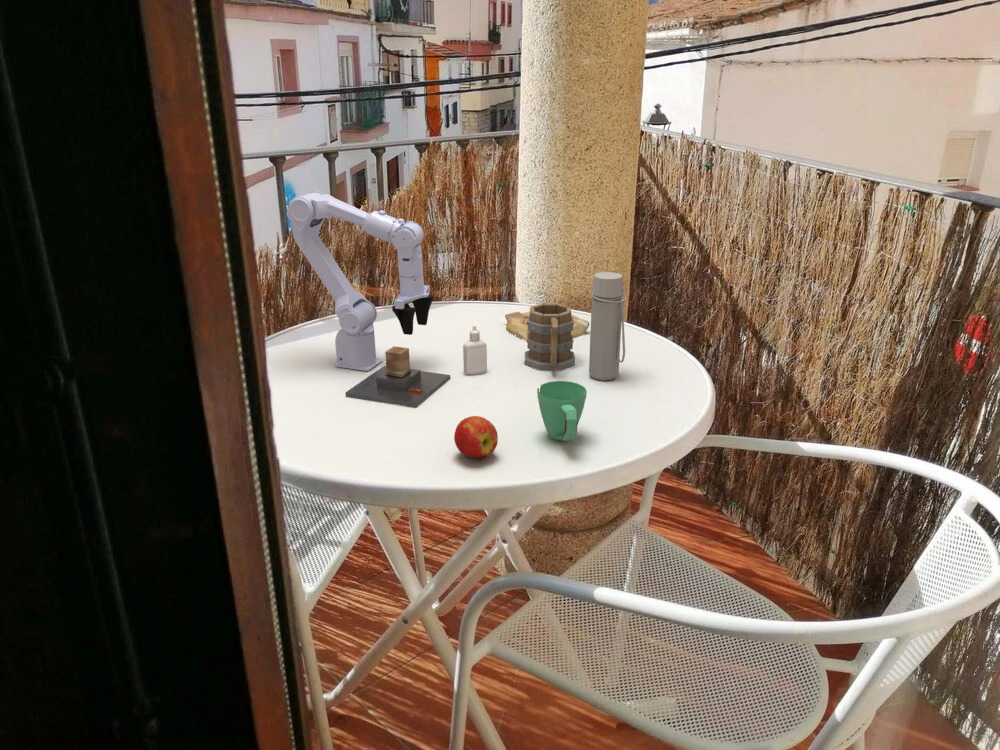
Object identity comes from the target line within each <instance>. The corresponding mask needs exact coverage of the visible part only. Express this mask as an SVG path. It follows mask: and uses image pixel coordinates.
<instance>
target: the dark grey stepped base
mask: <svg viewBox="0 0 1000 750" xmlns="http://www.w3.org/2000/svg"><path fill="white" fill-rule="evenodd" d="M450 380H451V374H446V373H439V372H438V373H437V372H433V371H432V372H431V371H425V370H421V369H416V368H410V372H408V373H407V374H406V375H404V376H403V377H397V376H390V375H387V370H386V365H383V366H382V367H380V368H379V369H377V370H376V371H374V372H373V373H371V374H370V375H368V376H367V377H366V378H365V379H363V380H361V381H360V382H358V383H357V384H356V385H354V386H353V387H351V388H350V389H348V390H347V391H345V397H347V398H353V399H359V400H364V401H365V400H366V401H372V402H379V403H384V404H391V405H397V406H404V407H407V408H408V407H411V408H413V409H414V408H418V407H419V406H420V405H422V404H423V403H424V402H425V401H426V400H427V399H428V398H429V397H431V396H433V394H434V393H436V392H437V391H438V390H439V389H440V388H441V387H442V386H444V385H445V384H447V382H448V381H450Z"/></svg>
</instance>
